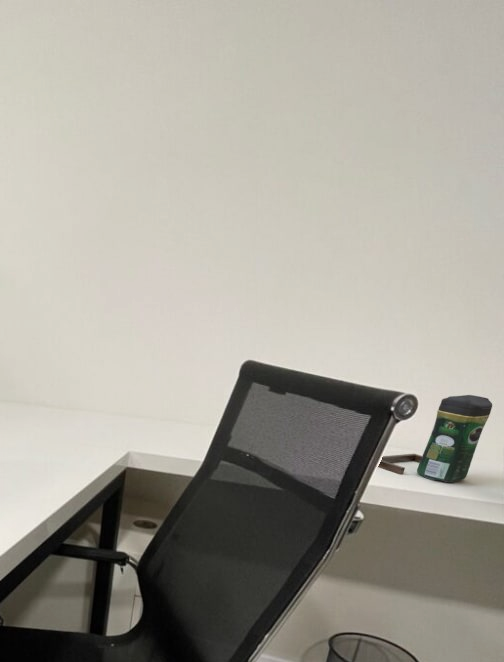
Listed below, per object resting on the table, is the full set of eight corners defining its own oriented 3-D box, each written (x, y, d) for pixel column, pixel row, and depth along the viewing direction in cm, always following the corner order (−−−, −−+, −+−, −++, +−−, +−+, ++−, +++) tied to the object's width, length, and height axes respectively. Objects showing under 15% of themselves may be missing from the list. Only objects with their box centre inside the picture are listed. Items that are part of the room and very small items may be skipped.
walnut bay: (445, 469, 131) (448, 463, 130) (400, 474, 125) (402, 468, 124) (412, 459, 137) (414, 453, 137) (367, 463, 132) (369, 457, 131)
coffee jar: (432, 469, 130) (461, 391, 123) (470, 480, 124) (503, 398, 117) (408, 473, 126) (437, 392, 119) (446, 485, 119) (479, 400, 112)
